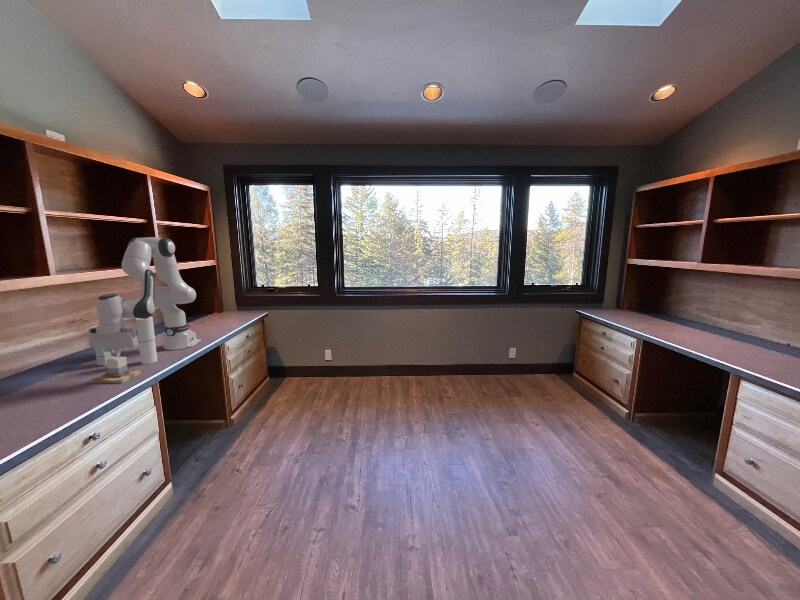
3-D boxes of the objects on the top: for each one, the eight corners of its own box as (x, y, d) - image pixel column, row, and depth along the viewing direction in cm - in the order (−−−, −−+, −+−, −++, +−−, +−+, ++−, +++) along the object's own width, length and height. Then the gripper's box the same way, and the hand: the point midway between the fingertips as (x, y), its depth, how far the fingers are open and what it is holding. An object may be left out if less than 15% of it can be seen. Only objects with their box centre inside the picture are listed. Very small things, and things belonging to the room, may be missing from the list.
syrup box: (105, 366, 165) (101, 339, 163) (96, 365, 166) (93, 339, 164) (117, 362, 171) (113, 336, 169) (108, 361, 172) (105, 336, 170)
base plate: (116, 371, 158) (115, 366, 158) (144, 371, 159) (144, 366, 159) (90, 383, 145) (89, 377, 144) (121, 383, 145) (120, 377, 145)
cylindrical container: (137, 364, 169) (131, 319, 165) (147, 359, 176) (142, 316, 172) (150, 364, 169) (145, 319, 165) (160, 359, 176) (155, 316, 172)
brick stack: (117, 372, 154) (115, 356, 153) (128, 372, 154) (126, 356, 153) (108, 376, 149) (106, 360, 148) (119, 376, 149) (117, 360, 148)
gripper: (140, 326, 151) (143, 354, 154) (96, 326, 151) (100, 353, 153) (129, 330, 145) (132, 358, 147) (83, 329, 144) (88, 358, 146)
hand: (115, 356), depth 150 cm, fingers closed
